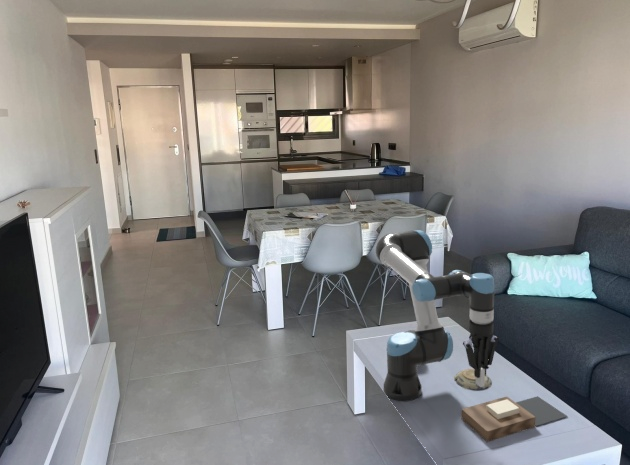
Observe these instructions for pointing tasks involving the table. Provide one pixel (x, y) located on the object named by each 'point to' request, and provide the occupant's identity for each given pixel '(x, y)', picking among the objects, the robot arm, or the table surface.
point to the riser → (496, 421)
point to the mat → (541, 410)
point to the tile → (502, 409)
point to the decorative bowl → (471, 380)
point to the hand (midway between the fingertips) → (480, 384)
